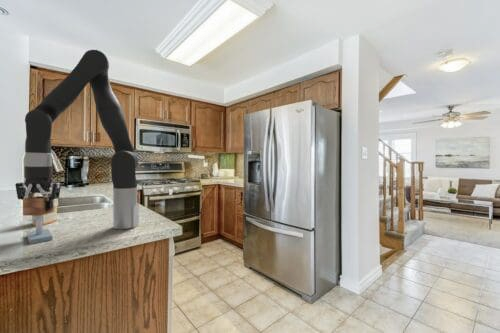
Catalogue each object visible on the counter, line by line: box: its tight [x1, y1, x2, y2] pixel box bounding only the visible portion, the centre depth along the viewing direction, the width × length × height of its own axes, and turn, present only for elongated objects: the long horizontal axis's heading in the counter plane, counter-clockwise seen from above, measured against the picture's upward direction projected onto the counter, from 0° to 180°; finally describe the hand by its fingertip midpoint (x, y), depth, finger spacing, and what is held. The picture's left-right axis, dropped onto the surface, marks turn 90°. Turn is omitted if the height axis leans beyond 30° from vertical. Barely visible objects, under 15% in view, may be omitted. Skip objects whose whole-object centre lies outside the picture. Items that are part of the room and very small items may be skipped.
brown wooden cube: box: [22, 195, 54, 216], centre depth 84 cm, size 6×6×6 cm
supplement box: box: [31, 194, 58, 227], centre depth 104 cm, size 8×5×13 cm, turn 5°
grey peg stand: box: [26, 215, 53, 245], centre depth 84 cm, size 12×6×12 cm, turn 47°
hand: (38, 210), depth 84 cm, fingers closed on brown wooden cube, 6 cm apart
